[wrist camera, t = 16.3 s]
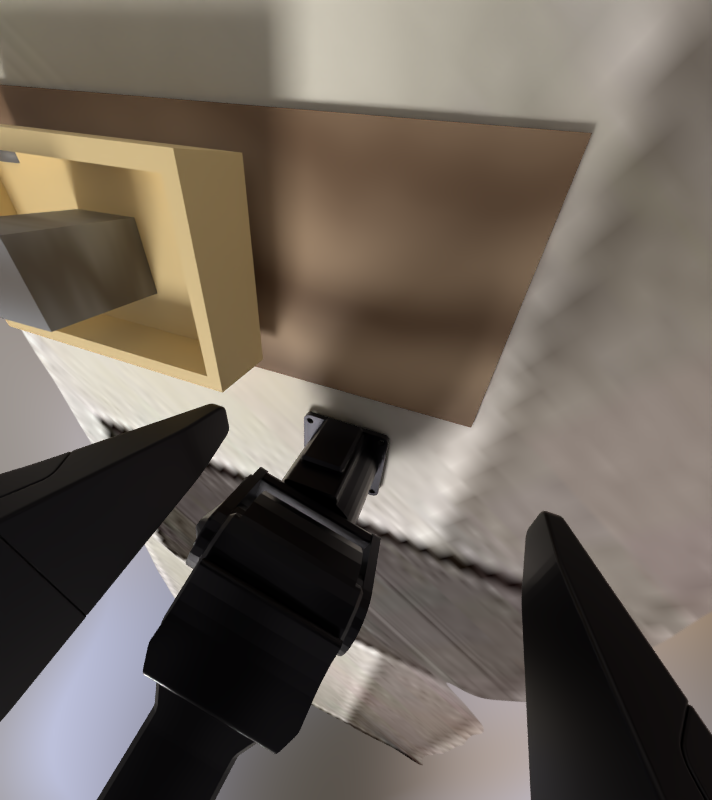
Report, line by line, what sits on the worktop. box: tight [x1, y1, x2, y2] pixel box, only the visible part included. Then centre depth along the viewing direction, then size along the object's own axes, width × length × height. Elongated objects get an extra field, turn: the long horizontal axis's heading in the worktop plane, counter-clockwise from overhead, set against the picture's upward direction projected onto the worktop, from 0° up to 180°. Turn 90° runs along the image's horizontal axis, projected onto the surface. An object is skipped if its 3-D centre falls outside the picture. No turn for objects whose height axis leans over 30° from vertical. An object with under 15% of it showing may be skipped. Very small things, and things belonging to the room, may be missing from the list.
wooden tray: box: [0, 124, 263, 392], centre depth 18 cm, size 11×17×5 cm, turn 85°
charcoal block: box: [0, 209, 157, 332], centre depth 16 cm, size 4×4×6 cm
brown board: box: [0, 85, 592, 427], centre depth 19 cm, size 14×32×1 cm, turn 85°
